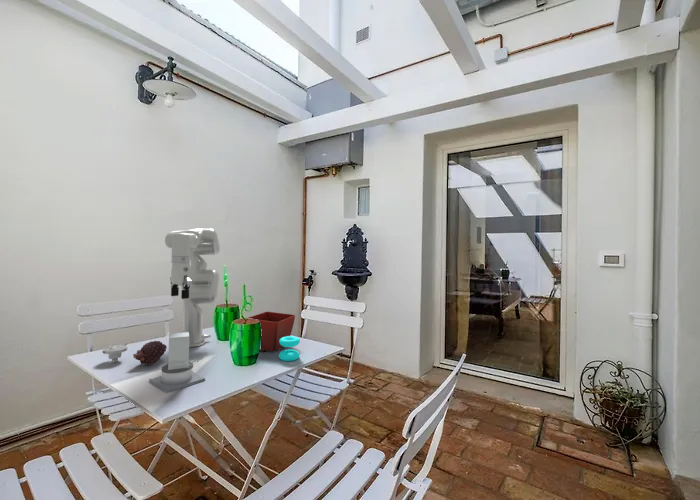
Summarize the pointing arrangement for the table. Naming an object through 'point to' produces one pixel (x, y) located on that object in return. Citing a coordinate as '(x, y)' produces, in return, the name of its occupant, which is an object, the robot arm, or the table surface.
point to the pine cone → (150, 352)
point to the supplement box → (178, 351)
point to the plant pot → (274, 329)
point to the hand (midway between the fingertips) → (179, 297)
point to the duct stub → (176, 378)
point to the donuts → (289, 354)
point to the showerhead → (115, 351)
